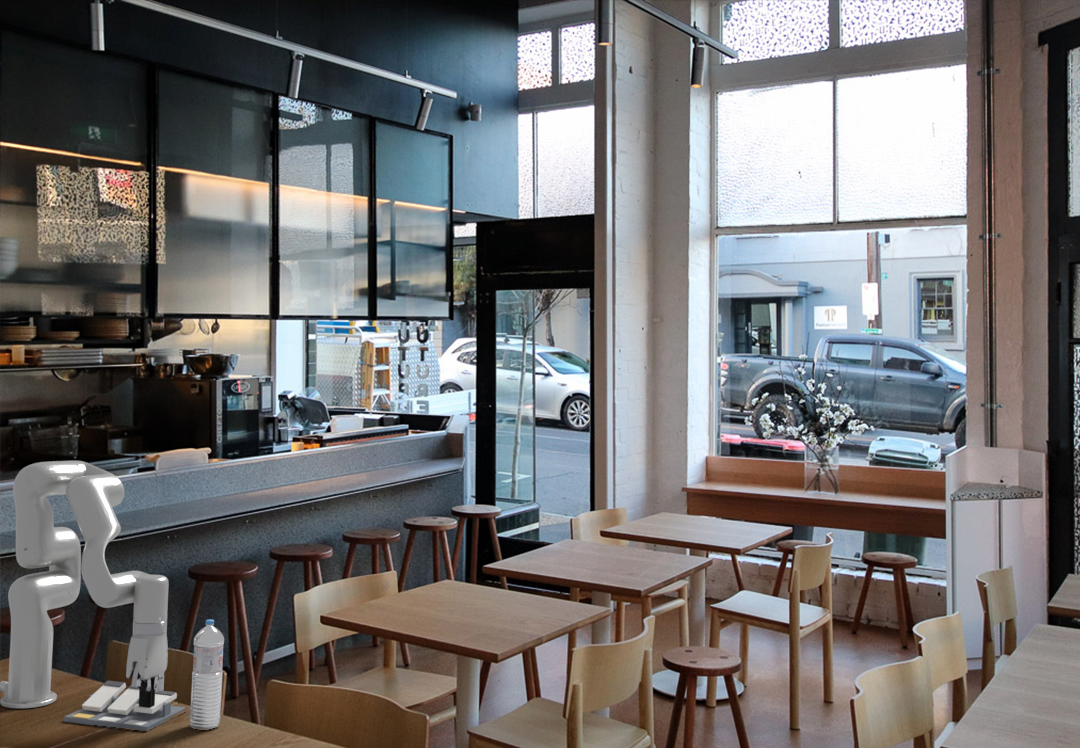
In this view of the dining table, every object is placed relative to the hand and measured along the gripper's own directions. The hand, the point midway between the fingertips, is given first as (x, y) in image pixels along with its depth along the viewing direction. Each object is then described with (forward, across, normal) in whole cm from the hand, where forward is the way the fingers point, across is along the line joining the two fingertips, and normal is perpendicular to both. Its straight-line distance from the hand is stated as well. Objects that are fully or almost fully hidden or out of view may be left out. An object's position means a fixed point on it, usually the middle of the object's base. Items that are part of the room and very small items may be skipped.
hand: (146, 706), depth 243 cm
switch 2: (0, -4, 0) cm, 4 cm away
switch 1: (0, -4, -14) cm, 15 cm away
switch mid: (0, -4, -7) cm, 8 cm away
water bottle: (+4, -3, +14) cm, 15 cm away
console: (+4, -3, -7) cm, 9 cm away
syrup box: (+4, -19, -12) cm, 23 cm away
